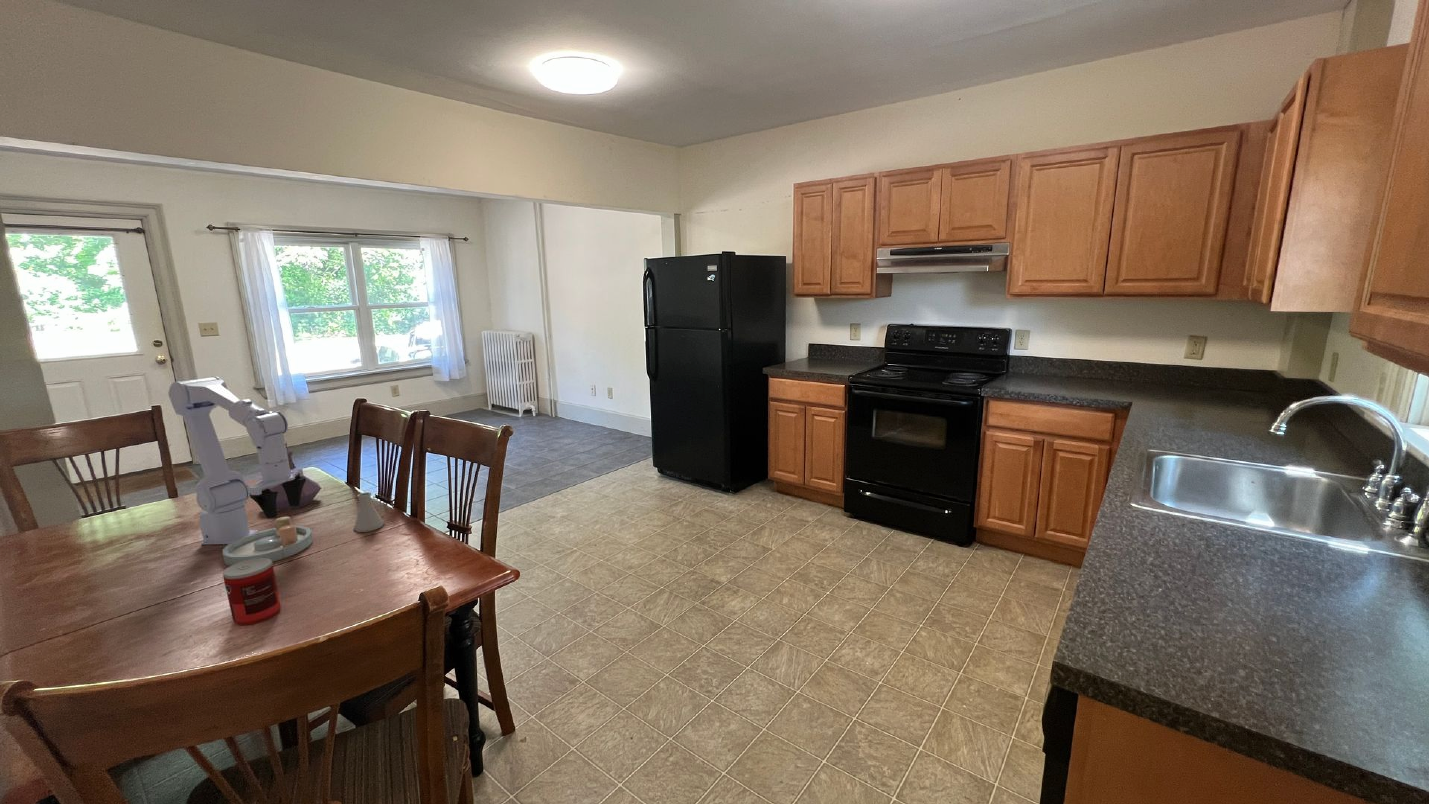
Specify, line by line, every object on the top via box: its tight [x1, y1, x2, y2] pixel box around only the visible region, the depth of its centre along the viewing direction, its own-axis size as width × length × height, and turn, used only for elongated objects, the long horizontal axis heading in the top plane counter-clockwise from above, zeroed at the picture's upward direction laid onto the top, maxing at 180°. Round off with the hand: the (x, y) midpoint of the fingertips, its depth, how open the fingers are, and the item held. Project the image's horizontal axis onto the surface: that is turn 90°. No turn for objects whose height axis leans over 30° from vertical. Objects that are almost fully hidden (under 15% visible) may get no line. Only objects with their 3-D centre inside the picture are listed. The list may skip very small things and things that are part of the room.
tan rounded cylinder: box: [273, 516, 292, 536], centre depth 150 cm, size 3×3×5 cm
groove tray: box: [222, 525, 314, 567], centre depth 145 cm, size 18×18×2 cm
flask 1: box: [269, 442, 322, 511], centre depth 174 cm, size 16×16×20 cm
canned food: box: [222, 558, 282, 626], centre depth 114 cm, size 8×8×11 cm
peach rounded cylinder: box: [279, 524, 298, 547], centre depth 144 cm, size 3×3×5 cm
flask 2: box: [353, 491, 386, 533], centre depth 156 cm, size 7×7×10 cm
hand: (283, 511), depth 143 cm, fingers open, 7 cm apart
